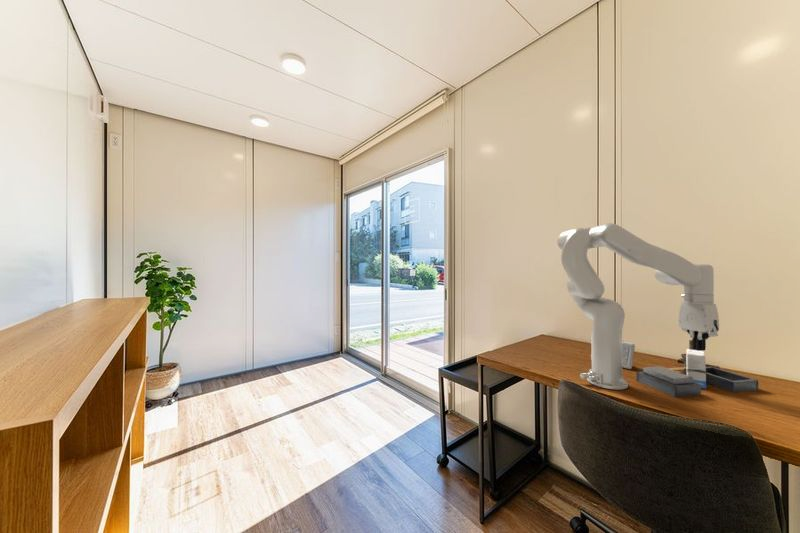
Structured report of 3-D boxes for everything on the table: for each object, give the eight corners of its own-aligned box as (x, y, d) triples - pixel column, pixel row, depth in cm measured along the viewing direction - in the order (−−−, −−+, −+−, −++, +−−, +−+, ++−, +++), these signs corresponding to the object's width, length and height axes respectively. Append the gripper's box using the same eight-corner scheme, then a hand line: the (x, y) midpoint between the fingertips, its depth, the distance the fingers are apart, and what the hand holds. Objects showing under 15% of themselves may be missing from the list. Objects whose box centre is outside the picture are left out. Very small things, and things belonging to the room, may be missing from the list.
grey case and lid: (674, 397, 100) (674, 380, 99) (636, 380, 113) (636, 366, 113) (758, 390, 104) (758, 374, 103) (711, 375, 117) (711, 361, 117)
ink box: (706, 389, 105) (706, 356, 105) (686, 385, 108) (686, 353, 108) (704, 382, 111) (704, 350, 111) (686, 378, 115) (685, 348, 114)
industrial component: (681, 369, 124) (681, 340, 124) (678, 364, 130) (678, 337, 130) (713, 374, 119) (713, 344, 118) (709, 368, 124) (708, 340, 124)
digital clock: (588, 360, 138) (588, 337, 138) (601, 357, 142) (601, 335, 142) (625, 371, 123) (625, 345, 123) (639, 368, 127) (639, 343, 126)
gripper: (668, 296, 114) (668, 344, 114) (713, 301, 99) (714, 357, 99) (685, 296, 115) (685, 343, 115) (733, 301, 100) (733, 355, 100)
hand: (699, 349), depth 107 cm, fingers closed
